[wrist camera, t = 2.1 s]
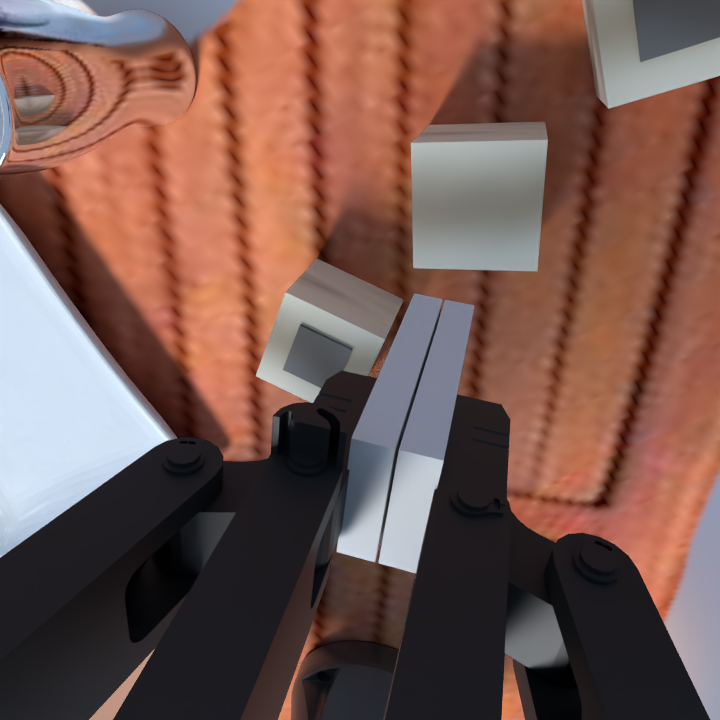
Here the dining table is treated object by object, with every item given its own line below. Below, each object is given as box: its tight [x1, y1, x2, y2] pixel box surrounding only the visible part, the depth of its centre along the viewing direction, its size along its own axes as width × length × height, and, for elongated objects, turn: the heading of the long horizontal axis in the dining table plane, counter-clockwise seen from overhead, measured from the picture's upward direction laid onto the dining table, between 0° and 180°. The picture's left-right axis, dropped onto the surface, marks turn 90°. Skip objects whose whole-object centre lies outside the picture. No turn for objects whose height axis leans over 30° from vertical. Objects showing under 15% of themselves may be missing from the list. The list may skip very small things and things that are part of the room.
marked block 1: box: [256, 259, 404, 403], centre depth 37 cm, size 6×6×6 cm
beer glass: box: [0, 0, 196, 179], centre depth 29 cm, size 7×7×15 cm
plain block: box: [411, 121, 548, 271], centre depth 31 cm, size 6×6×6 cm
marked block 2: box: [582, 0, 720, 109], centre depth 26 cm, size 6×6×6 cm
